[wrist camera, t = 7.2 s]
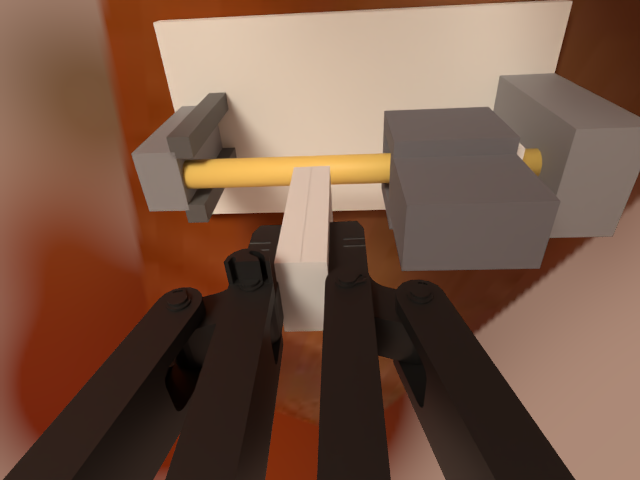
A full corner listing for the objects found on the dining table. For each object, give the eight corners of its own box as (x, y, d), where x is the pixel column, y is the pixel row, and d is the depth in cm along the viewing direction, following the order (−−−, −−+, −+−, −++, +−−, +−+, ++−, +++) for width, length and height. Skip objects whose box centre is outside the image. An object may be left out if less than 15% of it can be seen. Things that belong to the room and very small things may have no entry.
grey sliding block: (384, 110, 20) (408, 186, 13) (488, 106, 20) (566, 181, 13) (381, 187, 23) (400, 285, 16) (474, 185, 22) (535, 283, 16)
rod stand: (159, 20, 23) (61, 53, 15) (563, -1, 22) (700, 22, 14) (203, 207, 30) (152, 301, 22) (515, 199, 29) (588, 295, 20)
